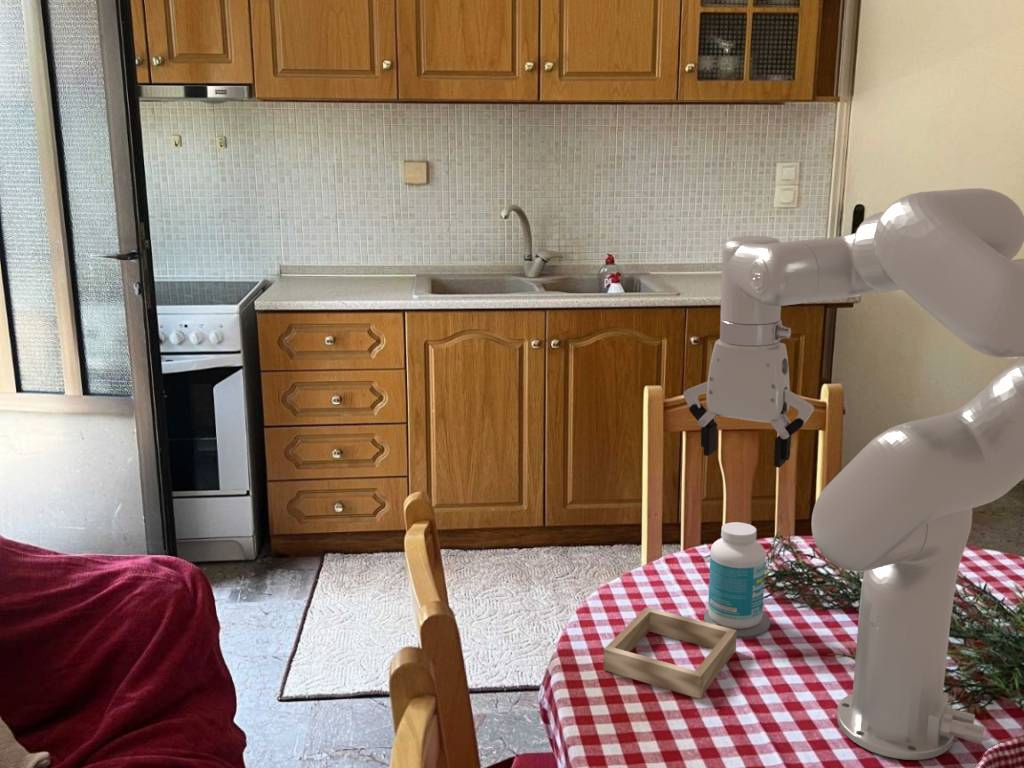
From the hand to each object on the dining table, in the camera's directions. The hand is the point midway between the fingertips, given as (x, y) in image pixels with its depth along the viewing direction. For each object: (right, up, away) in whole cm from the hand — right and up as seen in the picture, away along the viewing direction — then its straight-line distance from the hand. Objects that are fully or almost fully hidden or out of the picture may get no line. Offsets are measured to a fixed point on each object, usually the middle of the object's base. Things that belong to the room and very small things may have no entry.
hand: (744, 458), depth 133 cm
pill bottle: (0, -23, +6) cm, 24 cm away
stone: (0, -23, +6) cm, 24 cm away
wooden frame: (-10, -26, -3) cm, 28 cm away
